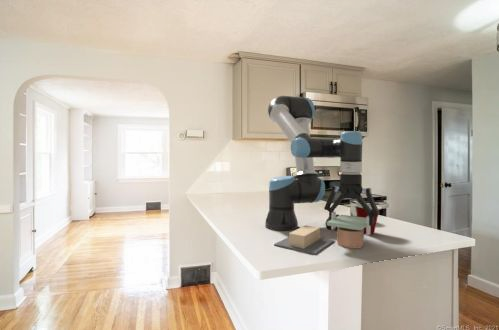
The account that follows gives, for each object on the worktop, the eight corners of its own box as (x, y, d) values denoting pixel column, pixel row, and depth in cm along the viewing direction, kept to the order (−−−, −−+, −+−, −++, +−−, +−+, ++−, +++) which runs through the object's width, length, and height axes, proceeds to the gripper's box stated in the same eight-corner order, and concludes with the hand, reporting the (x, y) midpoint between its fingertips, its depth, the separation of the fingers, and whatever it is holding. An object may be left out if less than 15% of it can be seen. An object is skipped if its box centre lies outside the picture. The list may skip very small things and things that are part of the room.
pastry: (325, 230, 125) (325, 217, 125) (325, 223, 136) (325, 211, 136) (351, 231, 122) (351, 218, 122) (349, 225, 133) (349, 213, 133)
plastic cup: (384, 237, 113) (384, 207, 113) (356, 235, 115) (356, 206, 115) (377, 230, 124) (377, 203, 123) (352, 228, 126) (352, 202, 125)
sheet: (326, 225, 100) (326, 222, 100) (341, 217, 113) (341, 214, 113) (361, 230, 93) (361, 226, 93) (372, 221, 106) (372, 218, 106)
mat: (274, 245, 102) (274, 232, 102) (296, 234, 116) (296, 222, 116) (315, 254, 92) (315, 239, 92) (334, 241, 107) (334, 228, 106)
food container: (370, 223, 136) (371, 203, 136) (358, 223, 136) (358, 203, 136) (361, 217, 148) (361, 199, 148) (349, 217, 149) (349, 199, 148)
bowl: (333, 245, 102) (334, 229, 102) (341, 239, 109) (342, 224, 109) (359, 250, 97) (359, 233, 97) (365, 243, 104) (366, 227, 104)
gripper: (315, 172, 107) (315, 228, 107) (384, 175, 92) (383, 239, 93) (323, 172, 113) (322, 224, 113) (388, 174, 98) (388, 234, 99)
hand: (350, 231), depth 103 cm, fingers closed on sheet, 12 cm apart
